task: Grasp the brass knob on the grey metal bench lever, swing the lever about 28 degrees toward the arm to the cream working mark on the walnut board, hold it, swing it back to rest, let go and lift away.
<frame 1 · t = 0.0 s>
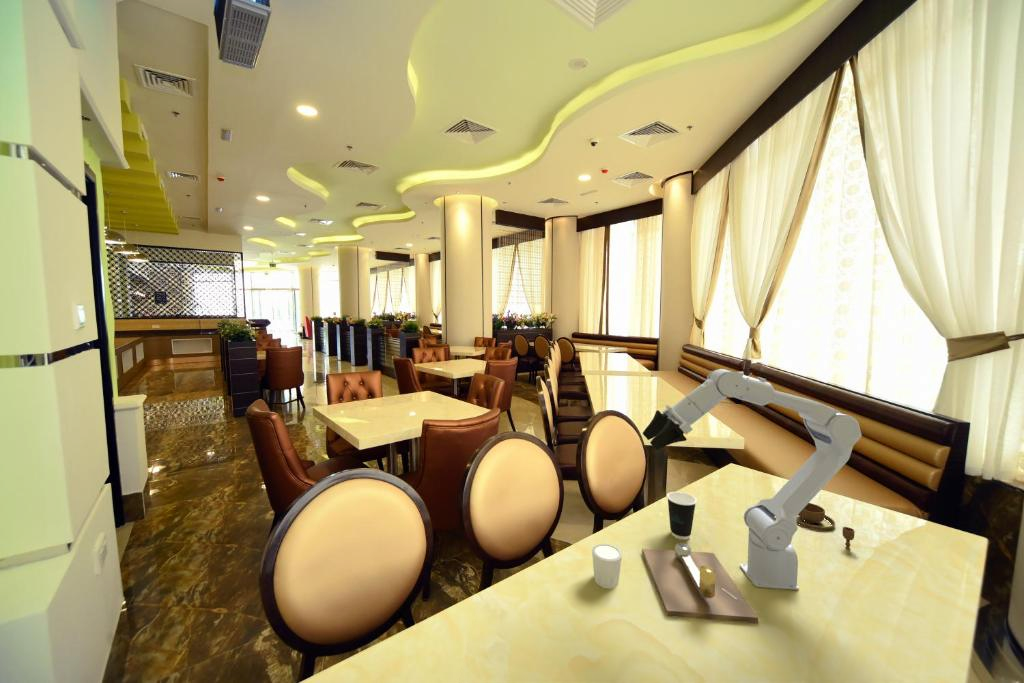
hand: (648, 441, 93), 32 cm above the table, tool tilted 50°, fingers open, 7 cm apart
lever: (693, 563, 89), point 5 cm above the table, hinge at 0.0°
dixie cup: (680, 535, 110), on the table
bench base: (692, 583, 90), on the table
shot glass: (606, 581, 91), on the table
place setting: (812, 529, 115), on the table
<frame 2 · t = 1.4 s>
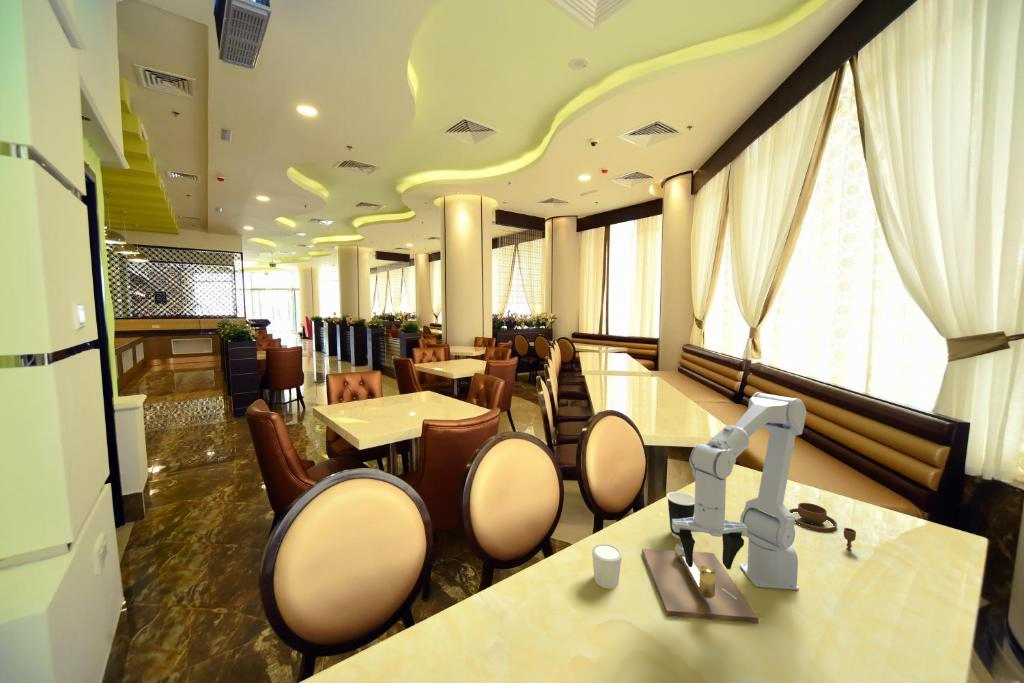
hand: (707, 565, 81), 10 cm above the table, tool pointing down, fingers open, 7 cm apart
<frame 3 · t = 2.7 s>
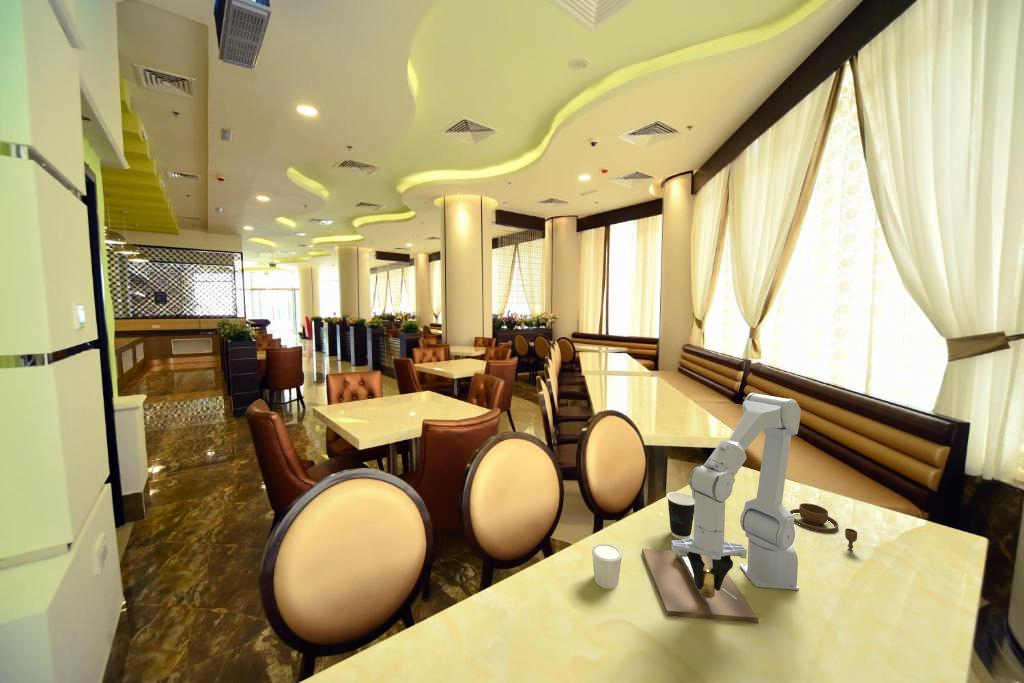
hand: (707, 586, 82), 5 cm above the table, tool pointing down, fingers closed on lever, 3 cm apart
lever: (693, 563, 89), point 5 cm above the table, hinge at 0.0°, touching gripper
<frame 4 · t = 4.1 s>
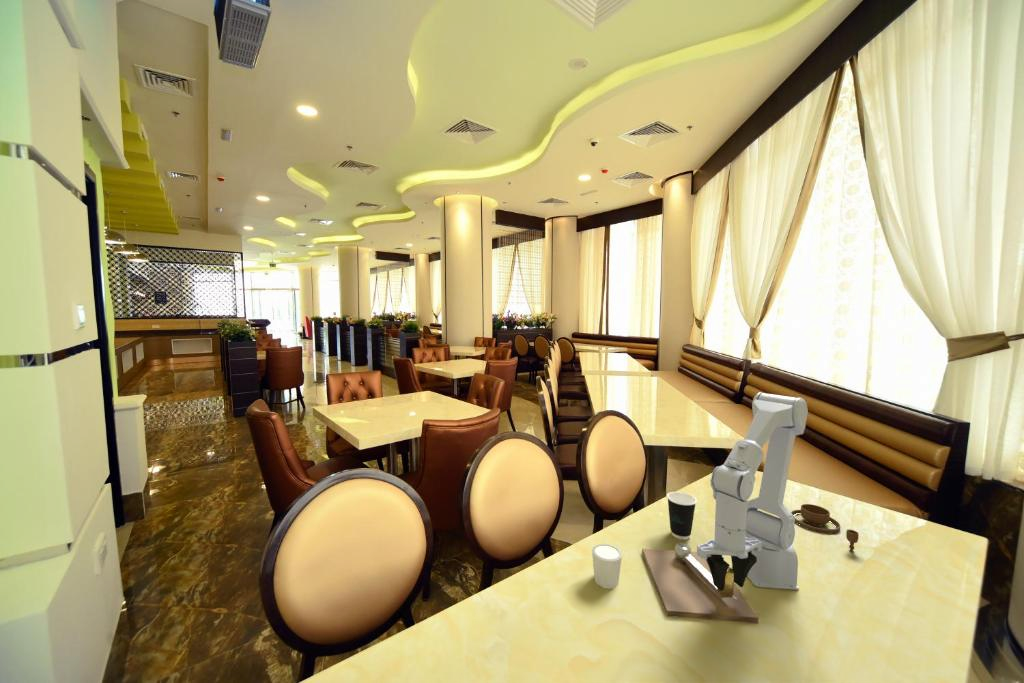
hand: (728, 585, 82), 5 cm above the table, tool pointing down, fingers open, 4 cm apart
lever: (702, 563, 89), point 5 cm above the table, hinge at 15.4°, touching gripper
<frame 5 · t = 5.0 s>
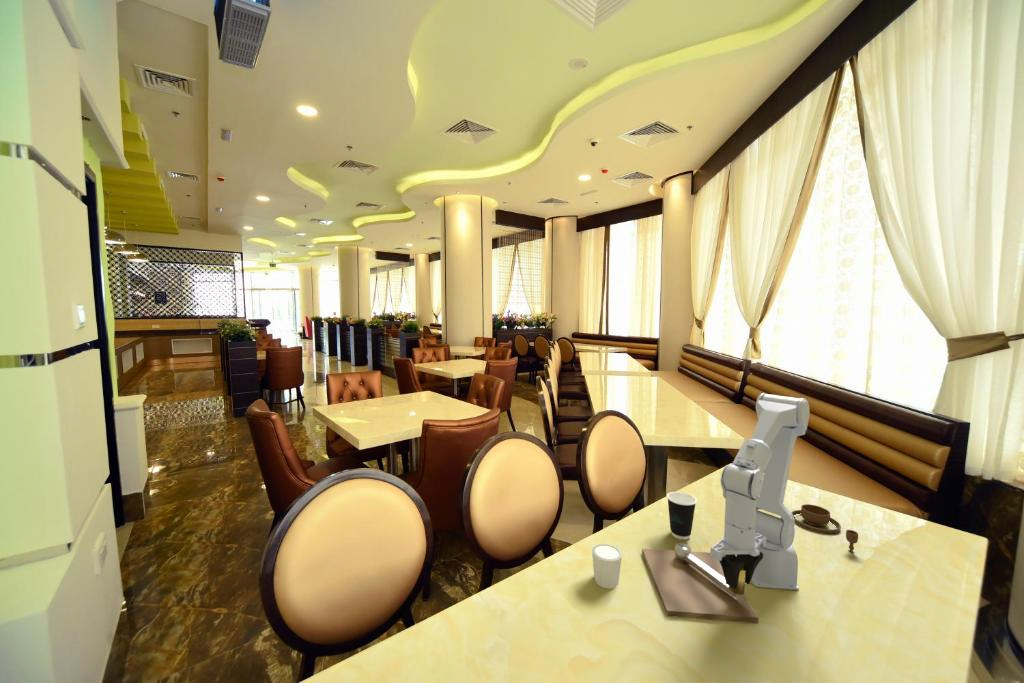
hand: (737, 583, 83), 5 cm above the table, tool pointing down, fingers open, 3 cm apart
lever: (707, 562, 90), point 5 cm above the table, hinge at 26.8°, touching gripper
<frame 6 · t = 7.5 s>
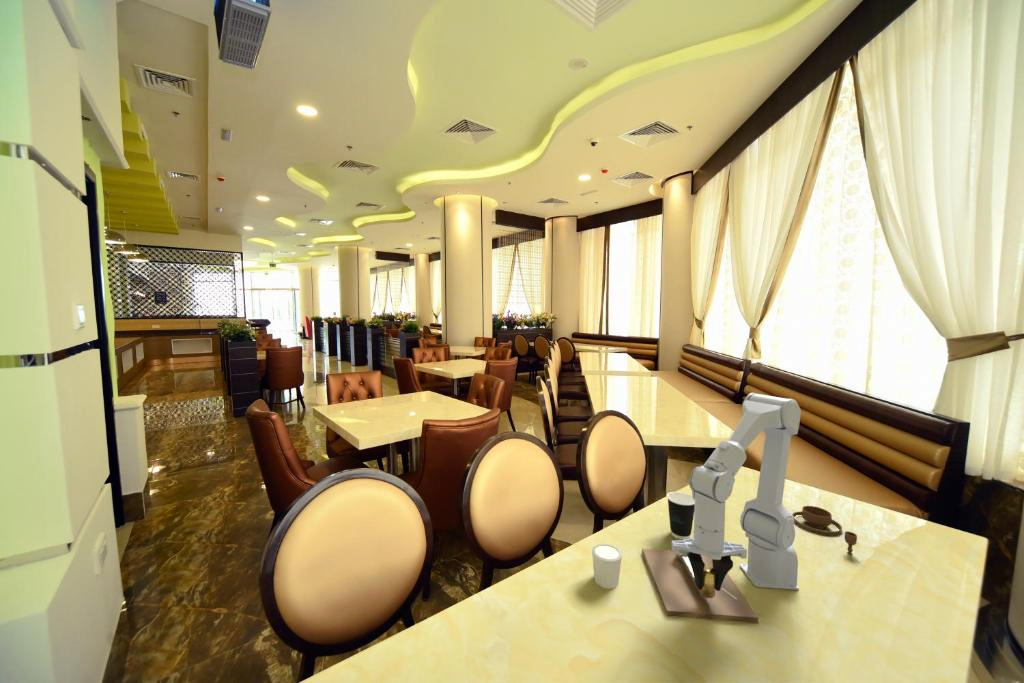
hand: (707, 586, 82), 5 cm above the table, tool pointing down, fingers closed on lever, 3 cm apart
lever: (693, 563, 89), point 5 cm above the table, hinge at 0.2°, touching gripper
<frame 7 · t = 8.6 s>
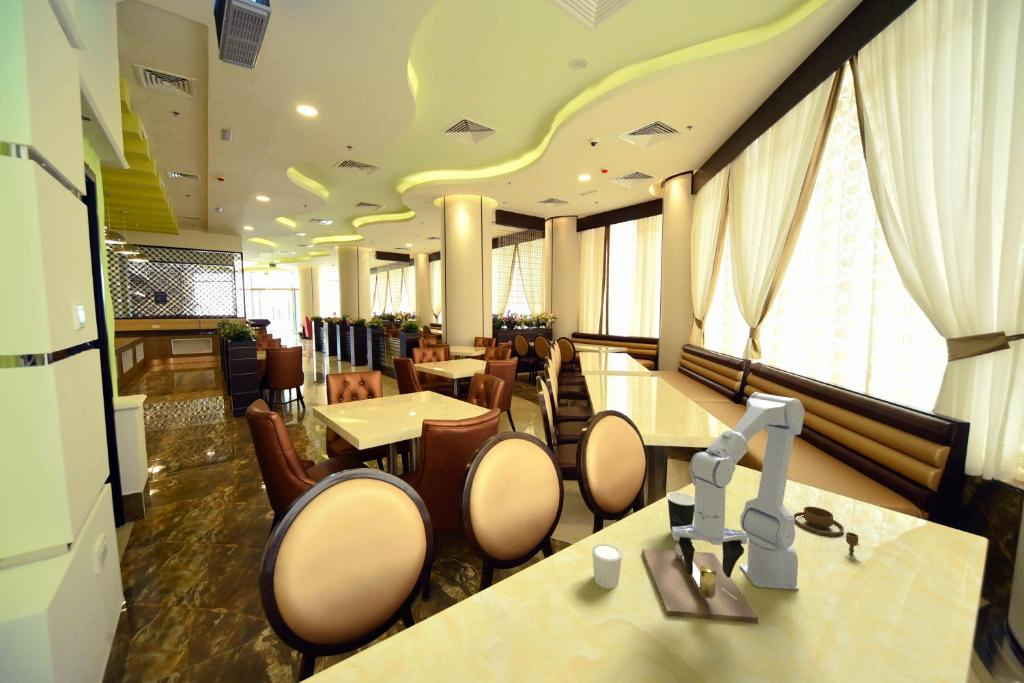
hand: (707, 573, 82), 8 cm above the table, tool pointing down, fingers open, 7 cm apart
lever: (693, 563, 89), point 5 cm above the table, hinge at 0.2°
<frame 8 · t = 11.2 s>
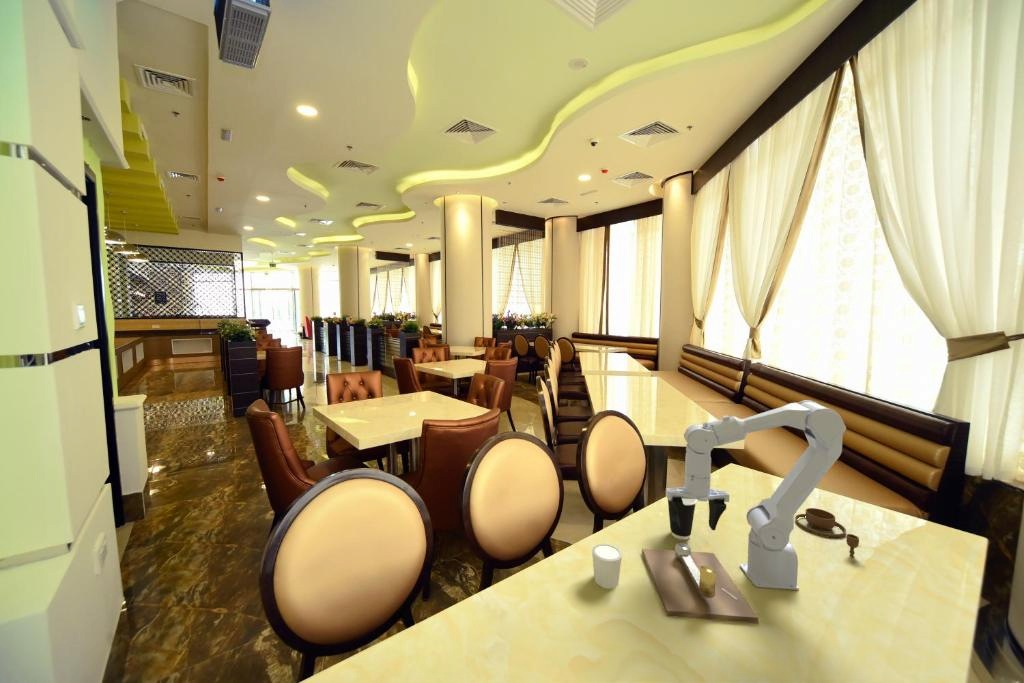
hand: (696, 527, 96), 10 cm above the table, tool pointing down, fingers open, 7 cm apart
at the end: lever at +0° (first picture: +0°); the gripper is holding nothing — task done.
